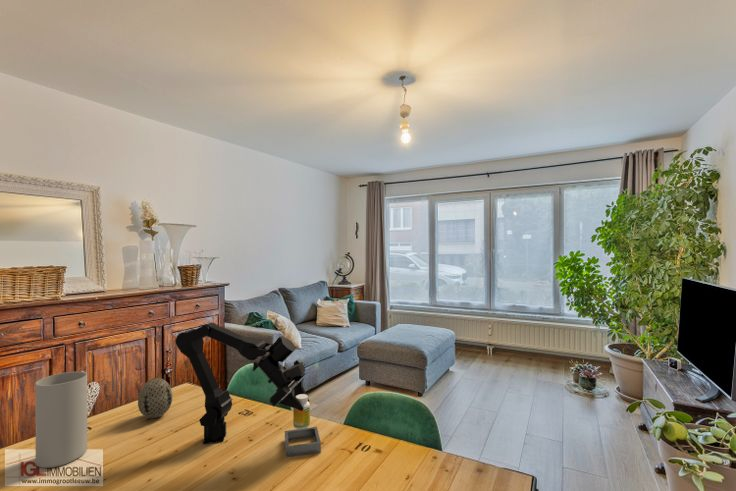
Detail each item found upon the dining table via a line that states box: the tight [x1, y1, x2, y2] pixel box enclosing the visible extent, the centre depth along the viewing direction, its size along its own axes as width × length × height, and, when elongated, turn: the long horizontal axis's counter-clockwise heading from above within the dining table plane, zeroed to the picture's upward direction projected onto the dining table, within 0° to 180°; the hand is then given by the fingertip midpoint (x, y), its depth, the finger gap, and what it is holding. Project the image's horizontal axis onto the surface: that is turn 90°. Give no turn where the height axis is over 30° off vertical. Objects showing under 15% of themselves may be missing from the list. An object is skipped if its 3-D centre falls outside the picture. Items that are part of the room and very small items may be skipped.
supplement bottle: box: [292, 394, 311, 430], centre depth 120 cm, size 5×5×10 cm
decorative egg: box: [137, 377, 174, 419], centre depth 141 cm, size 12×12×15 cm
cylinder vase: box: [35, 371, 88, 469], centre depth 114 cm, size 12×12×25 cm
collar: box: [284, 426, 322, 459], centre depth 119 cm, size 11×11×3 cm
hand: (305, 406), depth 119 cm, fingers closed on supplement bottle, 5 cm apart
